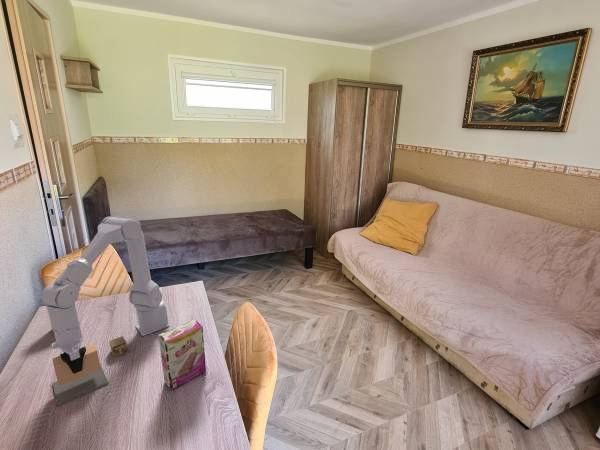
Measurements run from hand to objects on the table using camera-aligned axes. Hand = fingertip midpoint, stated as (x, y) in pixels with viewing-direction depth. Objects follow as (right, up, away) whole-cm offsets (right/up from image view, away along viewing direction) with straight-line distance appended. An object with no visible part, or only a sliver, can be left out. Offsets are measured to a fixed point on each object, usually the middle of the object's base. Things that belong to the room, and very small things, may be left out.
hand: (76, 366), depth 91 cm
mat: (0, -6, +2) cm, 6 cm away
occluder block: (0, -2, +1) cm, 3 cm away
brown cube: (+4, -2, +15) cm, 16 cm away
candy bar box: (+29, -5, +5) cm, 30 cm away
